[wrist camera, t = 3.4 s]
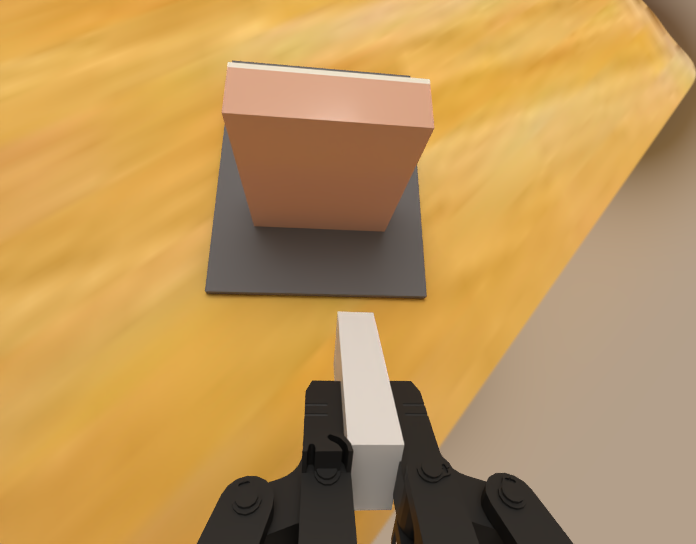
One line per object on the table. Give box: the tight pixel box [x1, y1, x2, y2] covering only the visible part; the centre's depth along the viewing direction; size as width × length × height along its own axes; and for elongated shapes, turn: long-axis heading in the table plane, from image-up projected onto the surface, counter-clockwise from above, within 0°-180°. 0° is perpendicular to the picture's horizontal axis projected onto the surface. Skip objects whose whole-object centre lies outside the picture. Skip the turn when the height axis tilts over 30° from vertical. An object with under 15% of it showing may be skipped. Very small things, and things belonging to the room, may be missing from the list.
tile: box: [222, 62, 434, 232], centre depth 24 cm, size 10×3×12 cm, turn 90°
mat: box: [205, 61, 427, 298], centre depth 31 cm, size 16×21×1 cm
